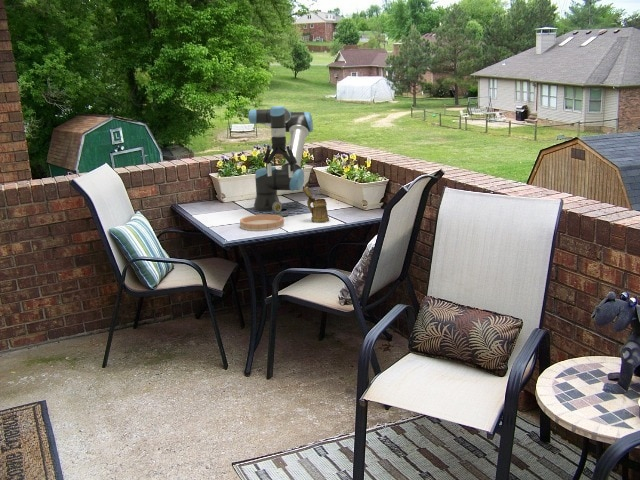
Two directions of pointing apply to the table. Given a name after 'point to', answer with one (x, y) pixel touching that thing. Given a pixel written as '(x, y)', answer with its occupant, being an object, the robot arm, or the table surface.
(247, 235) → the table surface
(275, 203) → the pocket watch
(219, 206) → the table surface
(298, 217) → the table surface
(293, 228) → the table surface
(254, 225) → the round dish
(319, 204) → the wooden mug
